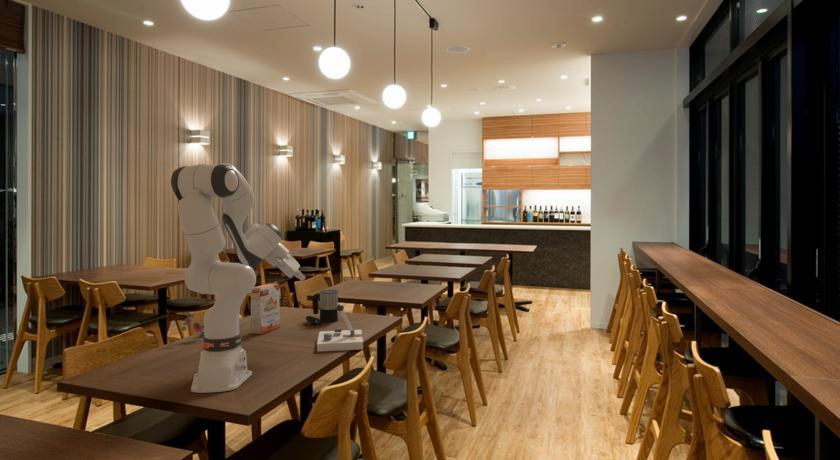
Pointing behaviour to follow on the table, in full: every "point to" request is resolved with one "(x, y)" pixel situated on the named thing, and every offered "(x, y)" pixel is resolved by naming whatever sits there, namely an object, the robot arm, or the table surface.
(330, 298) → the milk frother
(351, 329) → the toggle lever
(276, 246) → the robot arm
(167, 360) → the table surface
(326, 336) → the push button
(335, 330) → the rocker switch
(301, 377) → the table surface
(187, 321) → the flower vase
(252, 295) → the cracker box
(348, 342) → the switch panel
